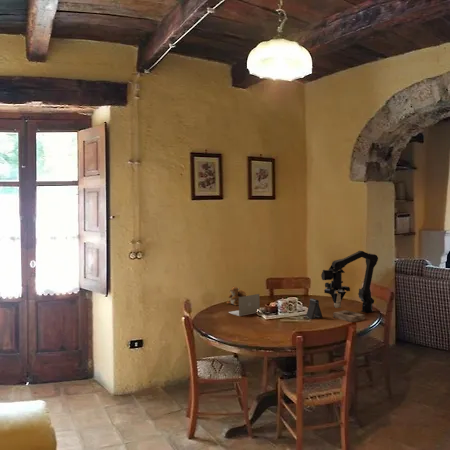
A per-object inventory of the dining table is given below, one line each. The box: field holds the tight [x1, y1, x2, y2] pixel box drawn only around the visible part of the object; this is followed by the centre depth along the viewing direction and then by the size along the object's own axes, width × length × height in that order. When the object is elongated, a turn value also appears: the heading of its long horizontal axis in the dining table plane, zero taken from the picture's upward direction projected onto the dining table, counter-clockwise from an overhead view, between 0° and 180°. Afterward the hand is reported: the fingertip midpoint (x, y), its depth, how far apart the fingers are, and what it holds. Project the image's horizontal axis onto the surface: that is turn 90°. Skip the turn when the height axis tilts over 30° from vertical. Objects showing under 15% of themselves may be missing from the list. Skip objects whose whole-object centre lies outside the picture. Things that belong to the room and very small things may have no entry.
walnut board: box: [332, 310, 366, 323], centre depth 316 cm, size 12×16×3 cm
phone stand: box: [306, 298, 323, 320], centre depth 320 cm, size 9×6×12 cm, turn 117°
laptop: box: [228, 293, 261, 317], centre depth 337 cm, size 18×12×13 cm
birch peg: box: [333, 292, 342, 309], centre depth 329 cm, size 4×4×9 cm
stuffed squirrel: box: [226, 286, 247, 306], centre depth 366 cm, size 10×14×13 cm
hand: (337, 302), depth 329 cm, fingers closed on birch peg, 4 cm apart
